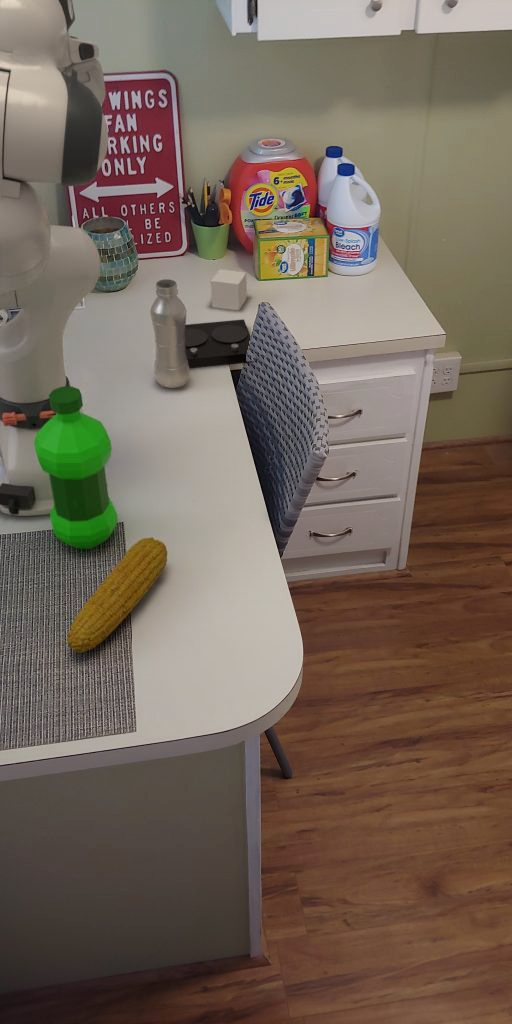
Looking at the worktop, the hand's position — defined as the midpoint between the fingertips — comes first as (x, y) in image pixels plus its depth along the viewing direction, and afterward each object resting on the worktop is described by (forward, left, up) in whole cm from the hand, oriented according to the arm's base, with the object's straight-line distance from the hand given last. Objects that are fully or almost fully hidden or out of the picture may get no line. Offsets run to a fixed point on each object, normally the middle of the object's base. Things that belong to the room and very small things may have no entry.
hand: (55, 145), depth 151 cm
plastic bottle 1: (-49, +2, -43) cm, 65 cm away
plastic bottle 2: (-7, -16, -43) cm, 46 cm away
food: (-65, -2, -43) cm, 78 cm away
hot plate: (+5, -25, -42) cm, 49 cm away
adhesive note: (+24, -32, -43) cm, 58 cm away
